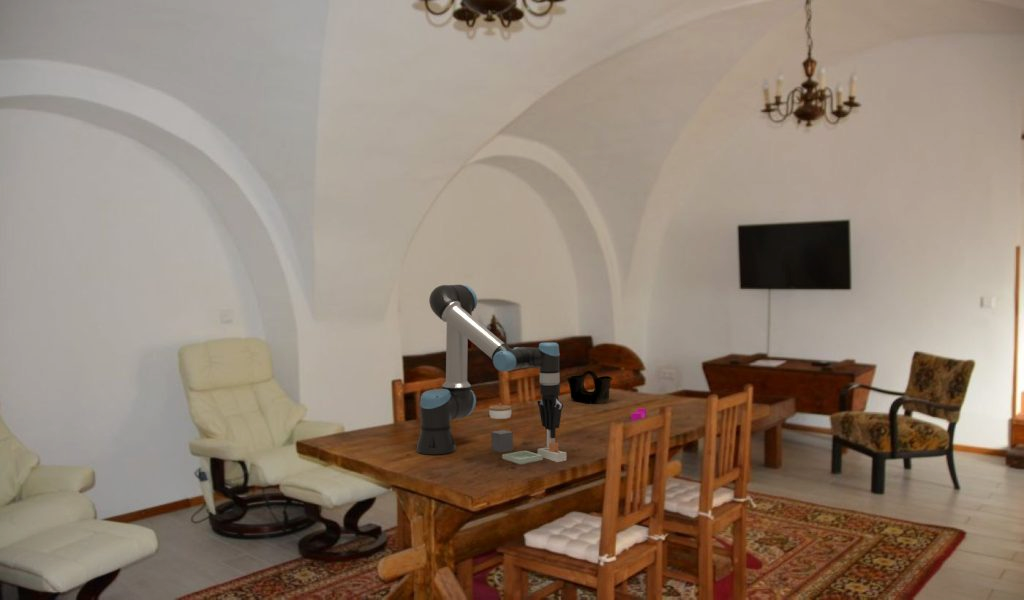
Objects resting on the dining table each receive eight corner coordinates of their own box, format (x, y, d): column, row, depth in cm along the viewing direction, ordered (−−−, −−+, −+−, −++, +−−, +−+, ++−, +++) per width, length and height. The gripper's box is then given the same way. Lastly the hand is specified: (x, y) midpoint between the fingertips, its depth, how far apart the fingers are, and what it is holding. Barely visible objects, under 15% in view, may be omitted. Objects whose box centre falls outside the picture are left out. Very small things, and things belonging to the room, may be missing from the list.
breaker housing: (557, 462, 286) (557, 454, 286) (537, 456, 296) (537, 448, 296) (566, 460, 289) (566, 452, 289) (546, 455, 299) (546, 447, 299)
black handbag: (616, 409, 403) (615, 371, 403) (607, 412, 394) (607, 373, 393) (573, 406, 416) (572, 368, 416) (563, 408, 407) (563, 371, 406)
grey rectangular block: (500, 454, 301) (500, 434, 301) (491, 452, 306) (491, 431, 306) (513, 452, 304) (512, 432, 304) (504, 450, 309) (503, 430, 309)
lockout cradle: (519, 464, 283) (519, 459, 283) (502, 459, 292) (502, 454, 292) (542, 460, 290) (542, 455, 290) (525, 455, 298) (525, 450, 298)
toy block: (645, 430, 345) (645, 414, 345) (631, 430, 347) (631, 413, 347) (651, 424, 359) (651, 408, 359) (638, 424, 362) (638, 408, 361)
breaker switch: (553, 452, 290) (553, 444, 290) (549, 450, 292) (549, 443, 292) (558, 451, 291) (558, 443, 291) (554, 450, 293) (554, 442, 293)
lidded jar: (485, 424, 366) (485, 404, 365) (493, 420, 376) (493, 401, 376) (507, 425, 362) (507, 405, 362) (514, 421, 372) (514, 401, 372)
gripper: (568, 384, 289) (569, 447, 290) (546, 381, 300) (547, 442, 301) (552, 386, 285) (554, 450, 286) (531, 383, 296) (532, 445, 296)
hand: (550, 446), depth 293 cm, fingers closed
